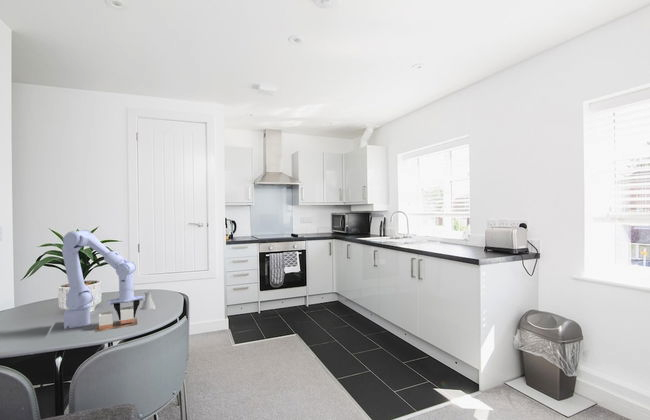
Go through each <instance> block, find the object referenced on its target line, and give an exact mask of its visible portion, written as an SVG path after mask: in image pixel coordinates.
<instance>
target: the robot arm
mask: <svg viewBox="0 0 650 420" xmlns="http://www.w3.org/2000/svg"><path fill="white" fill-rule="evenodd" d="M62 242H63V245H62V249H61V254H62V257H63V262H64V263H63V264H64V267H65V273H66V277H67V281H68V286H69V290H68V292H67V293H66V294H65V295H66V300H65V306H66V308H68V309H65V310H64V313H63V329H64V330H66V329H73V328H79V327H85V326H87V325H90V324H91V303H92V302H93V301H94V294H93V293H92V292H91V290H90V287H89V286H88V285H86V284H85V280H84V276H83V270H82V266H81V261H80V256H79V251H80V250H81V248H83V247H89V248H91V249H92V250H94V251H95V252H97V253H98V254H99V255H101V256H102V257H103V260H104V262H105V263H107V264H108V265H109V266H110V267H111V268H113V269H114V270H115V273H116V275H117V276H118V292H119V293H118V294H119V297H118V298H114V299H109V300H107V306H113V308H114V310H115V311H116V314H117V316H118V321H121V304H126V303H127V304H128V303H133V304H132V306H133V310H134V318H136V313H137V310H138V308H139V305H140V303H141V302H140V301H142V302H144V300H145V294H143V295H135V292H134V291H135V290H134V289H135V288H134V287H135V286H134V284H135V283H134V282H135V281H134V275H135V274H134V272H135V271H136V269H137V266H136V264H135V263H134V262H133V261H131V260H130V261H129V260H128V259H127V258H124V257H123V256H122V255H121V254H120V252H119V251H114V250H113V251H111V250H110V249H109V248H108V247H107V246H105V245H104V243H102V242H101V241H100V239H98V238H97V237H96V235H95V234H94V233H92V231H90V230H87V229H82V230H76V231H74V230H73V231H69V232H67V233H66V234H64V235H63V237H62Z"/></svg>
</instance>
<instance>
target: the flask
mask: <svg viewBox="0 0 650 420" xmlns="http://www.w3.org/2000/svg"><path fill="white" fill-rule="evenodd" d="M144 295H145V300H144V301H142V302H143V303H142V305H141V308H140V310H152V309H153V311H156V310H157V307H156V304H155V302H154V301H153V298H152V290H147V291H145V292H144Z"/></svg>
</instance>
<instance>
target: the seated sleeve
mask: <svg viewBox="0 0 650 420" xmlns="http://www.w3.org/2000/svg"><path fill="white" fill-rule="evenodd" d="M113 314H114V313H113V310H109V311H102V312H99V313H98V324H99V330H100V329H105V328H111V327H113V322H114V317H113V316H114V315H113Z"/></svg>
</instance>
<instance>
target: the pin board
mask: <svg viewBox="0 0 650 420" xmlns="http://www.w3.org/2000/svg"><path fill="white" fill-rule="evenodd" d="M133 326H138V319H137V317H135V318H134V322H130V323H124V324H121V320H116V321H113V327H111V328H105V329H100V330H99V323H98V324H96V325H95V327H94V333H99V332H103V331H109V330H114V329H115V330H116V329H120V328H127V327H128V328H129V327H133Z"/></svg>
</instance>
